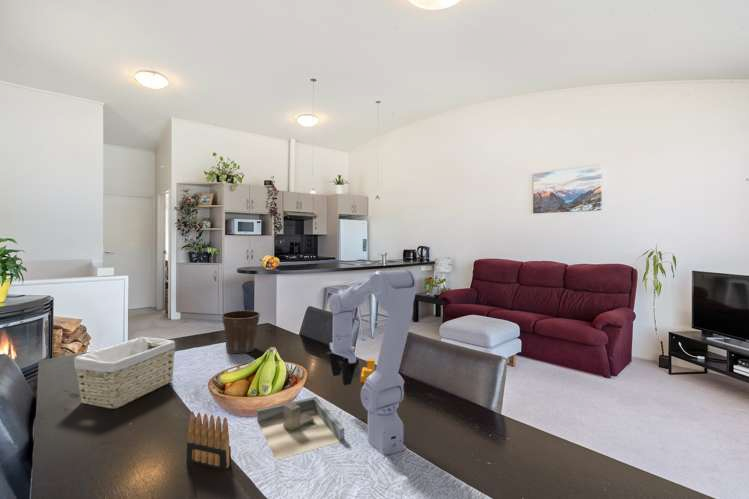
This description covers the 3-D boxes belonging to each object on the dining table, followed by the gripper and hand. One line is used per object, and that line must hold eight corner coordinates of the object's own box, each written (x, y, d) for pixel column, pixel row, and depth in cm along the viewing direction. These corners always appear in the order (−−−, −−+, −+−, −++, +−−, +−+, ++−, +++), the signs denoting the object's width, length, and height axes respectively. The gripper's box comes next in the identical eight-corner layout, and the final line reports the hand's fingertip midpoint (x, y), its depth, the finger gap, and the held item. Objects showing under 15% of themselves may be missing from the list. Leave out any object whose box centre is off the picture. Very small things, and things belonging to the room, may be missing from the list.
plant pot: (267, 348, 168) (268, 313, 167) (237, 358, 154) (237, 319, 153) (244, 342, 176) (244, 308, 176) (213, 351, 163) (213, 314, 162)
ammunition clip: (231, 468, 82) (231, 415, 81) (226, 474, 80) (225, 419, 80) (192, 459, 85) (192, 408, 84) (186, 464, 83) (185, 412, 83)
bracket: (292, 432, 95) (292, 409, 95) (283, 426, 98) (283, 404, 98) (313, 422, 101) (313, 401, 100) (304, 417, 103) (305, 396, 103)
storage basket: (112, 413, 106) (111, 362, 106) (71, 404, 111) (70, 356, 110) (178, 381, 129) (178, 340, 129) (142, 376, 134) (141, 335, 133)
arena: (344, 443, 92) (344, 428, 92) (276, 463, 84) (276, 446, 84) (315, 410, 110) (316, 396, 110) (257, 423, 101) (257, 409, 101)
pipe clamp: (362, 375, 137) (363, 358, 137) (374, 376, 137) (374, 359, 137) (358, 389, 125) (358, 370, 125) (371, 390, 125) (371, 371, 125)
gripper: (365, 338, 104) (365, 386, 105) (344, 327, 117) (343, 369, 117) (343, 341, 101) (342, 390, 101) (323, 329, 113) (323, 373, 114)
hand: (341, 379), depth 109 cm, fingers open, 7 cm apart
